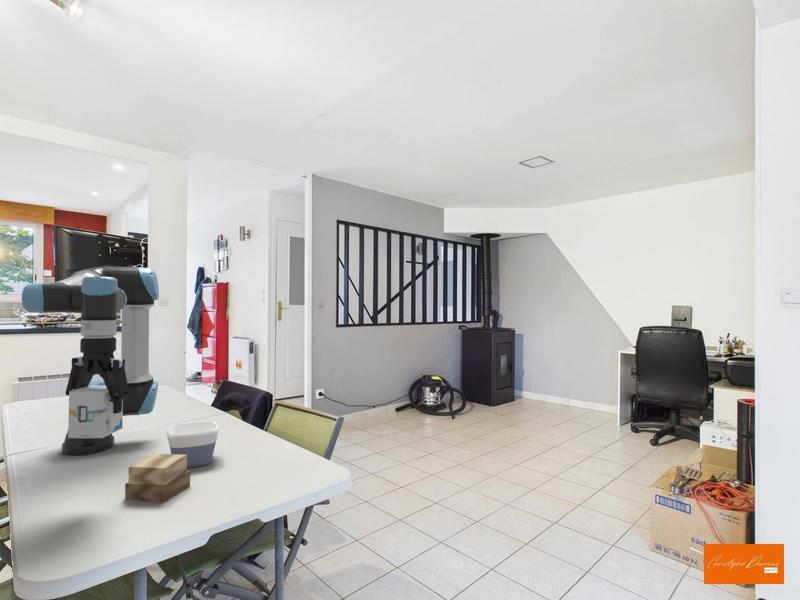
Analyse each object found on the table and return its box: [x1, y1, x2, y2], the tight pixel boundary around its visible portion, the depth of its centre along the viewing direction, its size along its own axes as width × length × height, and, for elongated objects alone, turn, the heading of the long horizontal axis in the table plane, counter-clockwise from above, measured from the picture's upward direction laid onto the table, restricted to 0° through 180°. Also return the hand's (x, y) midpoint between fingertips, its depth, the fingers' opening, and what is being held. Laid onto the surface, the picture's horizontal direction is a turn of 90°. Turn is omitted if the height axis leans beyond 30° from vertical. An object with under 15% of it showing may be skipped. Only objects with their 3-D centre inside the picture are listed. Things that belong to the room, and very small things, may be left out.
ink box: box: [67, 385, 124, 438], centre depth 108 cm, size 8×8×12 cm
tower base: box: [124, 470, 191, 504], centre depth 116 cm, size 11×11×4 cm
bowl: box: [166, 420, 220, 469], centre depth 139 cm, size 15×15×11 cm
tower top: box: [127, 453, 188, 485], centre depth 116 cm, size 10×10×4 cm
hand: (96, 424), depth 108 cm, fingers closed on ink box, 9 cm apart
